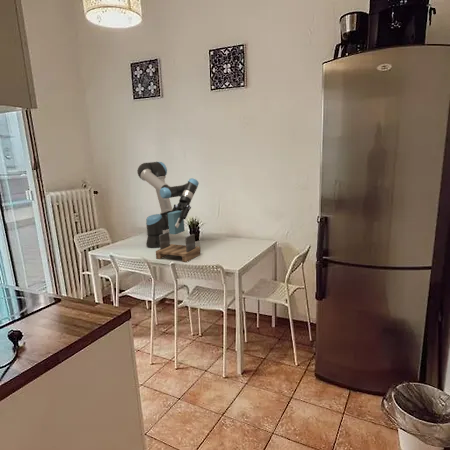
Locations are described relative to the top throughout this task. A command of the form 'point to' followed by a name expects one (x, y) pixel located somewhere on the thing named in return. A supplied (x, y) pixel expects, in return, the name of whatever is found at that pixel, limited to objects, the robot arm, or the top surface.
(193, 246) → the shelf
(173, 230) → the book
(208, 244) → the top surface
